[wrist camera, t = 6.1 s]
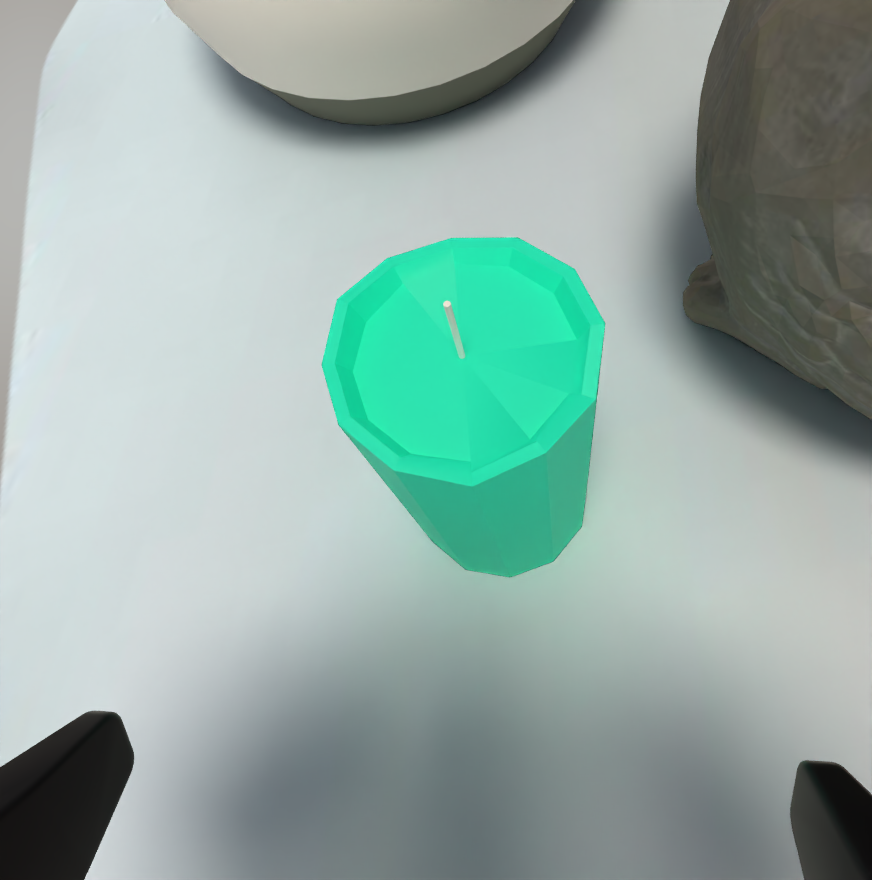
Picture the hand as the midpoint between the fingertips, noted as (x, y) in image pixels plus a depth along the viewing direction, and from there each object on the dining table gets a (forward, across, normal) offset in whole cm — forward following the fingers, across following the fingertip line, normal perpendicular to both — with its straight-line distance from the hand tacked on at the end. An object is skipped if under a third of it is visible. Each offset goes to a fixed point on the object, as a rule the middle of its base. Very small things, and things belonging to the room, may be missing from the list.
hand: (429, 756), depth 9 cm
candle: (+15, 0, +4) cm, 15 cm away
